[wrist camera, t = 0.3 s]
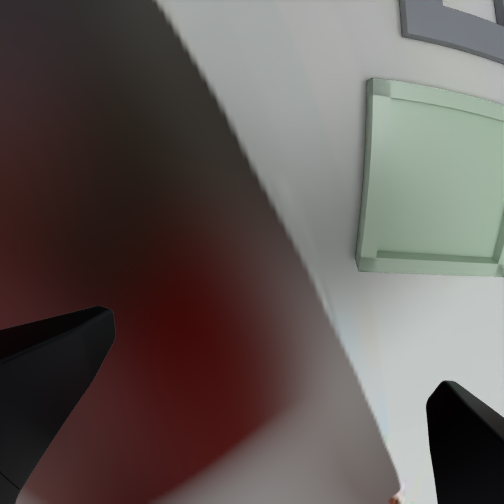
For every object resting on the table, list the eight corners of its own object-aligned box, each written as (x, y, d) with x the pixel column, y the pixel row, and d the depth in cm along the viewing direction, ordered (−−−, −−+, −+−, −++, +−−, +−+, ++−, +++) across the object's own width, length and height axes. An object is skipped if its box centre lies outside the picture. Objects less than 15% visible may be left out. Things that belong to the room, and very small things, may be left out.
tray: (366, 80, 16) (372, 77, 15) (519, 113, 14) (533, 115, 13) (355, 258, 21) (358, 271, 20) (493, 265, 19) (504, 276, 18)
